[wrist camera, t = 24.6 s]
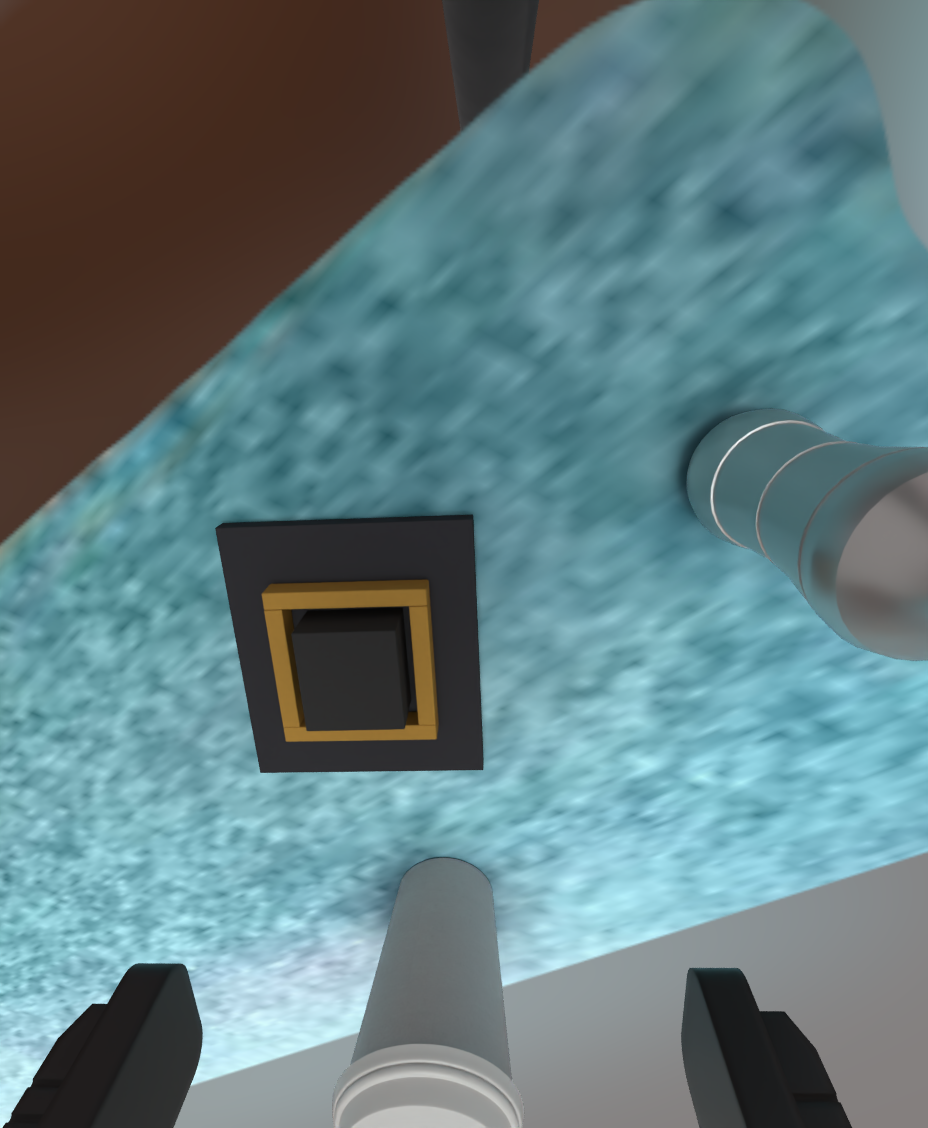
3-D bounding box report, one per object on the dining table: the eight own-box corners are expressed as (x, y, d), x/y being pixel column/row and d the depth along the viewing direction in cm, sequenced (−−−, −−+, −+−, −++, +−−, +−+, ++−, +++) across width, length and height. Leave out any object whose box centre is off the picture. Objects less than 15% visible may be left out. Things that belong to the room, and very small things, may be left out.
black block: (306, 610, 35) (290, 633, 33) (402, 607, 35) (395, 630, 32) (319, 702, 37) (306, 732, 35) (411, 700, 37) (404, 729, 34)
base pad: (222, 522, 35) (202, 536, 33) (473, 514, 34) (471, 527, 32) (265, 762, 40) (251, 789, 38) (483, 759, 40) (483, 786, 37)
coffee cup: (351, 903, 44) (284, 1168, 30) (427, 815, 41) (394, 1063, 27) (461, 964, 46) (448, 1245, 31) (543, 884, 43) (568, 1153, 29)
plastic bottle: (652, 502, 34) (857, 706, 15) (718, 381, 31) (1058, 439, 13) (757, 548, 34) (1083, 801, 15) (829, 433, 32) (1311, 563, 13)
